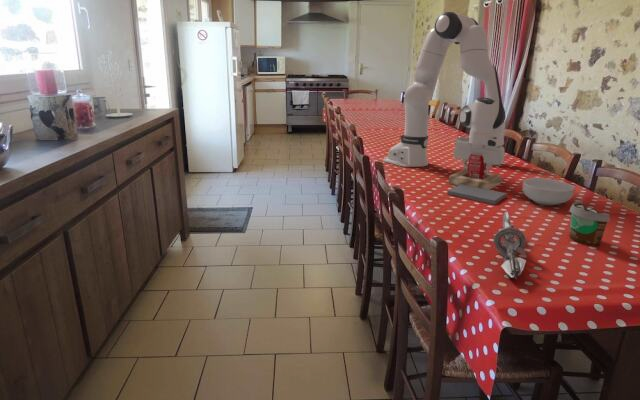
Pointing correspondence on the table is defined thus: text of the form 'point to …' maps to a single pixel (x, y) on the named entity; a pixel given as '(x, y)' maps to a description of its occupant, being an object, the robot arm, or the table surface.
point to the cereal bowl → (547, 191)
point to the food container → (587, 224)
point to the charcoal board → (477, 194)
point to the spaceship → (510, 247)
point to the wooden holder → (475, 180)
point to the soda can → (476, 167)
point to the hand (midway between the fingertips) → (476, 171)
